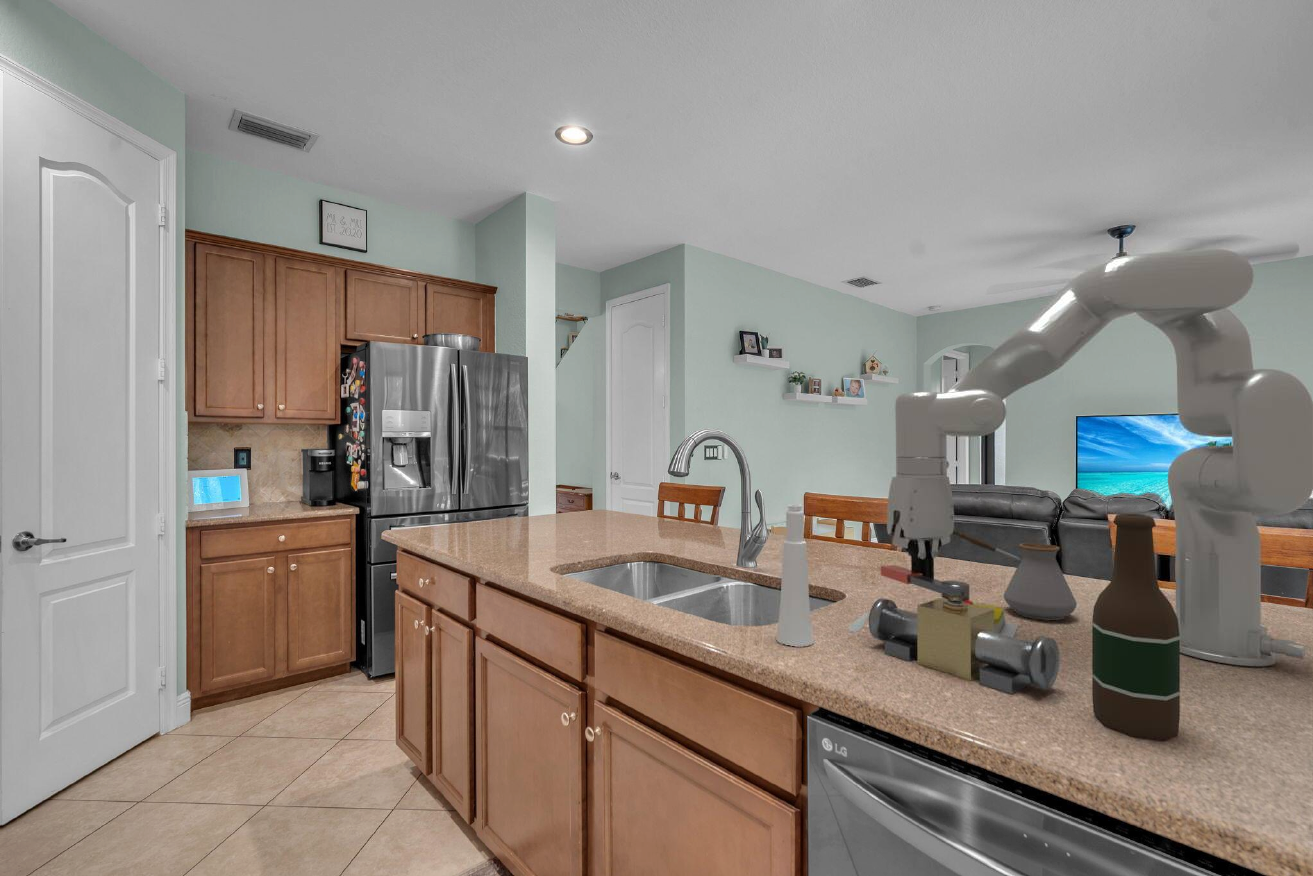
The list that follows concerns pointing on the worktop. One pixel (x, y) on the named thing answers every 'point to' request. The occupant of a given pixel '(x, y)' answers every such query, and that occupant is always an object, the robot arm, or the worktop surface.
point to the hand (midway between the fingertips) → (922, 581)
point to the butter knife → (858, 623)
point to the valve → (964, 644)
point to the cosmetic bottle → (794, 585)
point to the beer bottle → (1136, 641)
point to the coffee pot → (1035, 582)
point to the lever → (928, 582)
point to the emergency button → (999, 620)
